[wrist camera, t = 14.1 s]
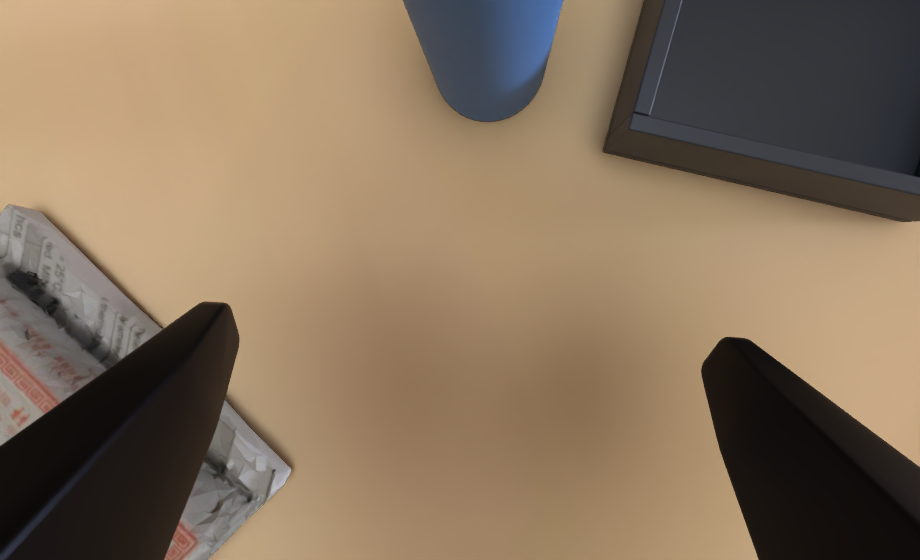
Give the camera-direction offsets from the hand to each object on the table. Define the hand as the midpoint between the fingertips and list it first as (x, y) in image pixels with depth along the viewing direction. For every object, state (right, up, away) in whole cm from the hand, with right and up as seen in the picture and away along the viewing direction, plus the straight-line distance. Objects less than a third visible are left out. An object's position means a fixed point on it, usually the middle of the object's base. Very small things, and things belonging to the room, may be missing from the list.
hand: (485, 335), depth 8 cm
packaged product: (-18, -5, +15) cm, 24 cm away
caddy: (+13, +10, +10) cm, 19 cm away
